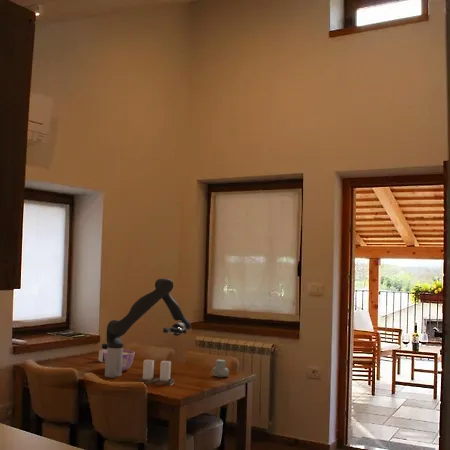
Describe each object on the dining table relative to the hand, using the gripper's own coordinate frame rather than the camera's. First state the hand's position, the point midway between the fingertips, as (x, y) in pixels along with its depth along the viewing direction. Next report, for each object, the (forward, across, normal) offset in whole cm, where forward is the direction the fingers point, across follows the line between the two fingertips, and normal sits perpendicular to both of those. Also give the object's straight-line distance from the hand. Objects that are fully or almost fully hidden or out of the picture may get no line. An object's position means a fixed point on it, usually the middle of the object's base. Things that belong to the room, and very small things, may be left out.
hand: (173, 331), depth 333 cm
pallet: (+16, -5, +28) cm, 33 cm away
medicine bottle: (-41, -54, +28) cm, 73 cm away
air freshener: (-18, +28, +28) cm, 44 cm away
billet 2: (+16, 0, +27) cm, 31 cm away
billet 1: (+16, -10, +27) cm, 33 cm away
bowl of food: (-15, -37, +28) cm, 49 cm away
